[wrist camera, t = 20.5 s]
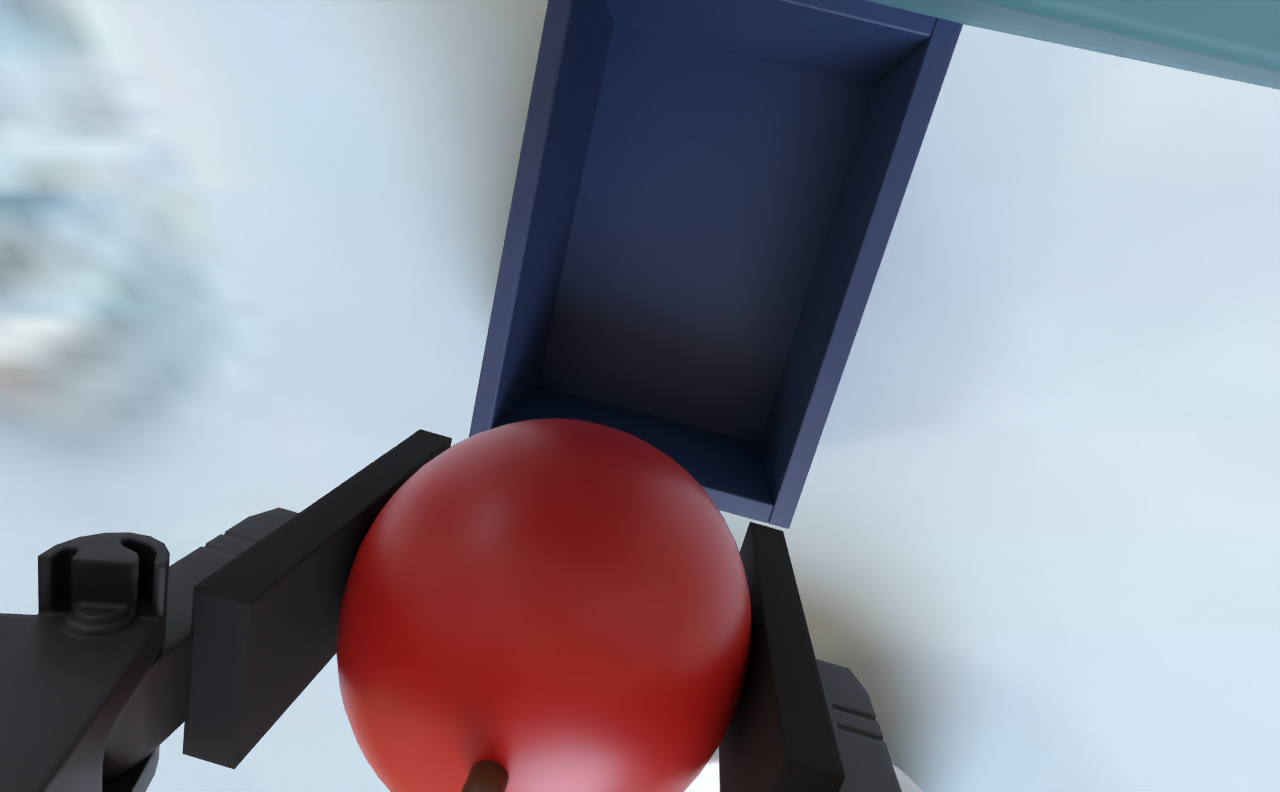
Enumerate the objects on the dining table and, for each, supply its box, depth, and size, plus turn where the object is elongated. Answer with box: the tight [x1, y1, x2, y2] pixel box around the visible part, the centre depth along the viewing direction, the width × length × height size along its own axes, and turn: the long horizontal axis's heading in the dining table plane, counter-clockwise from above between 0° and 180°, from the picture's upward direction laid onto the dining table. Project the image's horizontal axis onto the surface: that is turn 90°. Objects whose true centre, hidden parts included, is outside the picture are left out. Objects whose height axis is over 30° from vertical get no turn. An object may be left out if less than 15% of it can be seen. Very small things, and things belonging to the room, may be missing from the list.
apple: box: [336, 418, 752, 792], centre depth 11 cm, size 7×7×8 cm
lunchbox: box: [469, 0, 963, 529], centre depth 25 cm, size 18×13×8 cm
